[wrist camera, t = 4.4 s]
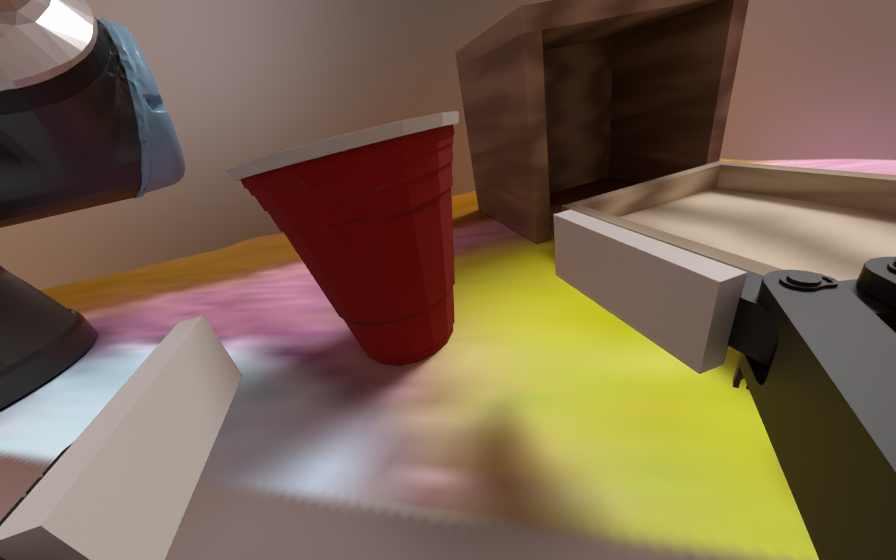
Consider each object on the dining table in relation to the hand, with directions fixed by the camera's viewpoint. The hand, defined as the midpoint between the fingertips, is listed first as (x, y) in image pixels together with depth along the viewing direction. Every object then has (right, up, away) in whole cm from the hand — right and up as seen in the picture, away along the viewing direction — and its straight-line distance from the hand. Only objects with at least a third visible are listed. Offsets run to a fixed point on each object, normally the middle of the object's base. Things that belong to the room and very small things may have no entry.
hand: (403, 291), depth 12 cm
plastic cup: (-1, -3, +9) cm, 9 cm away
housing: (+17, +9, +25) cm, 31 cm away
